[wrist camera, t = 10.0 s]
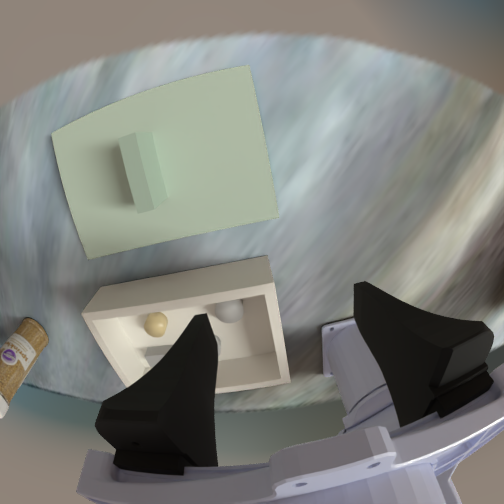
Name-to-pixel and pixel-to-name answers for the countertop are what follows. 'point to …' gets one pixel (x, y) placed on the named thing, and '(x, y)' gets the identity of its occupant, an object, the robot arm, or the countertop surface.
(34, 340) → the sprinkles bottle
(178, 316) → the tub
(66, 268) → the countertop surface
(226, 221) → the lid
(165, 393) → the robot arm
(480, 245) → the countertop surface
